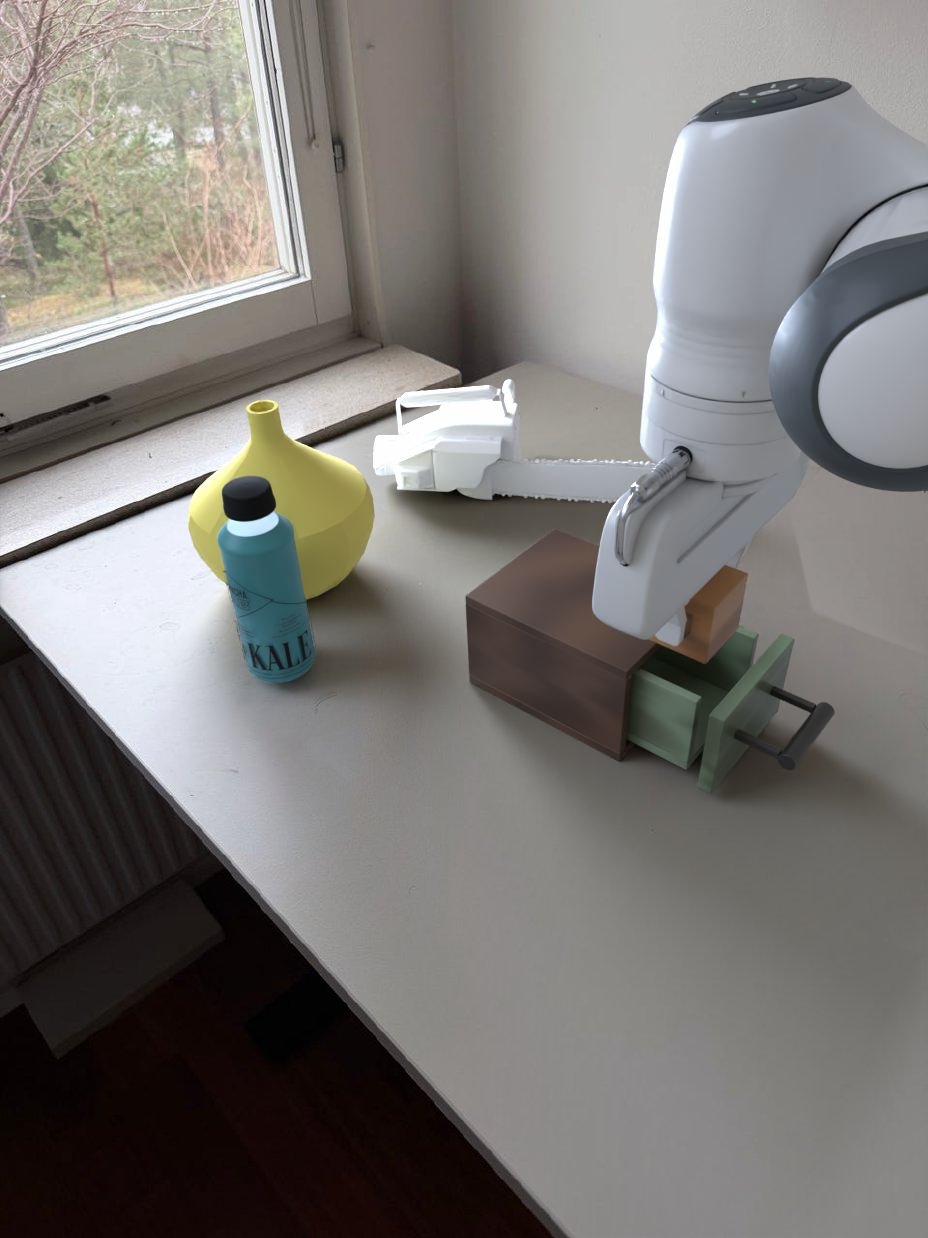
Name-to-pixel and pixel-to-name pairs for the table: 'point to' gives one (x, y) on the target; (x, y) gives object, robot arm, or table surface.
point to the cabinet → (554, 644)
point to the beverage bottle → (265, 582)
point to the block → (713, 615)
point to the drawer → (718, 706)
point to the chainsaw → (488, 452)
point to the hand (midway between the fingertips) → (695, 613)
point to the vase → (292, 502)
